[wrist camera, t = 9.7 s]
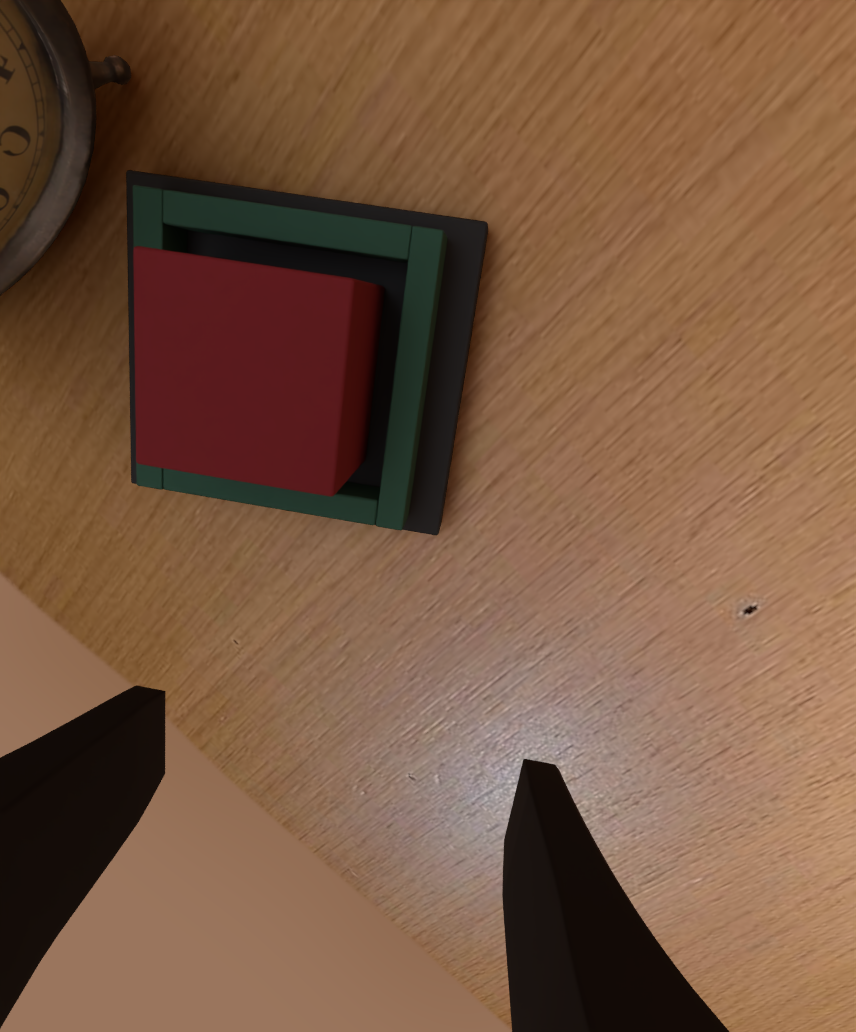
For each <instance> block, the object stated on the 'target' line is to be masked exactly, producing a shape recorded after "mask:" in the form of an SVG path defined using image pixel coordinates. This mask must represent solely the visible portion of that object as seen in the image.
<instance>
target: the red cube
mask: <svg viewBox="0 0 856 1032" xmlns="http://www.w3.org/2000/svg"><path fill="white" fill-rule="evenodd" d="M133 266H134V339H135V412H136V462H137V463H138V464H141V465H147V466H153V467H159V468H165V469H171V470H177V471H182V472H188V473H194V474H200V475H206V476H212V477H218V478H224V479H230V480H236V481H241V482H247V483H253V484H259V485H265V486H271V487H277V488H283V489H289V490H295V491H300V492H306V493H312V494H318V495H324V496H330V497H331V496H334V495H335V494H336V492H337V491H338V490H339V489H340V488H341V487H342V486H343V485H344V483H345V482H346V481H347V480H348V479H349V478H350V477H351V475H352V474H353V473H354V472H355V471H356V470H357V469H358V467H359V466H360V465H361V464H362V463H363V462H364V461H365V459H366V453H367V444H368V435H369V426H370V417H371V408H372V400H373V391H374V382H375V373H376V364H377V355H378V346H379V338H380V329H381V320H382V311H383V302H384V293H385V288H384V287H383V286H381V285H377V284H373V283H369V282H365V281H361V280H357V279H353V278H348V277H341V276H334V275H328V274H321V273H314V272H308V271H301V270H295V269H288V268H281V267H275V266H268V265H261V264H255V263H248V262H241V261H235V260H228V259H222V258H215V257H208V256H202V255H195V254H188V253H182V252H175V251H169V250H162V249H155V248H149V247H142V246H136V247H134V249H133Z"/></svg>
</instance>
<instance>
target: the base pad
mask: <svg viewBox="0 0 856 1032" xmlns="http://www.w3.org/2000/svg"><path fill="white" fill-rule="evenodd" d="M126 183H127V244H128V304H129V365H130V425H131V482H132V483H134V484H137V485H138V486H144V487H150V488H156V489H165V490H170V491H176V492H182V493H188V494H194V495H200V496H205V497H211V498H217V499H223V500H229V501H235V502H240V503H246V504H252V505H258V506H264V507H270V508H275V509H281V510H287V511H293V512H299V513H305V514H310V515H316V516H322V517H328V518H334V519H340V520H345V521H351V522H357V523H363V524H369V525H376V526H378V527H384V528H390V529H395V530H408V531H414V532H420V533H426V534H432V535H438V533H439V530H440V526H441V521H442V515H443V509H444V503H445V497H446V490H447V484H448V478H449V472H450V465H451V459H452V453H453V447H454V440H455V434H456V428H457V422H458V415H459V409H460V403H461V397H462V390H463V384H464V378H465V372H466V366H467V359H468V353H469V347H470V341H471V334H472V328H473V322H474V316H475V309H476V303H477V297H478V291H479V284H480V278H481V272H482V266H483V259H484V253H485V247H486V241H487V235H488V224H487V222H484V221H478V220H471V219H464V218H457V217H450V216H443V215H436V214H429V213H422V212H415V211H408V210H401V209H395V208H388V207H381V206H374V205H367V204H360V203H353V202H346V201H339V200H332V199H325V198H318V197H312V196H305V195H298V194H291V193H284V192H277V191H270V190H263V189H256V188H249V187H242V186H235V185H228V184H222V183H215V182H208V181H201V180H194V179H187V178H180V177H173V176H166V175H159V174H152V173H145V172H139V171H132V170H128V171H127V172H126ZM136 246H142V247H149V248H155V249H162V250H169V251H175V252H182V253H188V254H195V255H202V256H208V257H215V258H222V259H228V260H235V261H241V262H248V263H255V264H261V265H268V266H275V267H281V268H288V269H295V270H301V271H308V272H314V273H321V274H328V275H334V276H341V277H348V278H353V279H357V280H361V281H365V282H369V283H373V284H377V285H381V286H383V287H384V288H385V293H384V302H383V311H382V320H381V329H380V338H379V346H378V355H377V364H376V373H375V382H374V391H373V400H372V408H371V417H370V426H369V435H368V444H367V453H366V459H365V461H364V462H363V463H362V464H361V465H360V466H359V467H358V469H357V470H356V471H355V472H354V473H353V474H352V475H351V477H350V478H349V479H348V480H347V481H346V482H345V483H344V485H343V486H342V487H341V488H340V489H339V490H338V491H337V492H336V494H335V495H334V496H331V497H330V496H324V495H318V494H312V493H306V492H300V491H295V490H289V489H283V488H277V487H271V486H265V485H259V484H253V483H247V482H241V481H236V480H230V479H224V478H218V477H212V476H206V475H200V474H194V473H188V472H182V471H177V470H171V469H165V468H159V467H153V466H147V465H141V464H138V463H137V462H136V412H135V339H134V266H133V249H134V247H136Z"/></svg>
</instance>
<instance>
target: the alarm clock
mask: <svg viewBox="0 0 856 1032" xmlns="http://www.w3.org/2000/svg"><path fill="white" fill-rule="evenodd" d="M130 79H131V71H130V66H129V65H128V64H127V62H126V61H124V60H123V59H122V58H121V57H119V56H116V55H114V56H109V57H106V58H105V60H104V62H90V61H88V58H87V55H86V51H85V48H84V46H83V43H82V41H81V38H80V35H79V33H78V30H77V28H76V25H75V24H74V22H73V20H72V18H71V17H70V15H69V13H68V11H67V10H66V8H65V6H64V5H63V3H62V2H61V0H0V295H1V294H3V293H4V292H5V291H6V290H8V289H9V288H10V287H11V286H13V285H14V284H15V283H16V282H18V281H19V280H20V279H21V278H22V277H23V276H24V275H25V274H26V273H27V272H28V271H29V270H31V268H32V267H33V266H34V265H35V264H36V263H37V262H38V261H39V260H40V258H41V257H42V256H43V254H44V253H45V252H46V251H47V249H48V248H49V247H50V246H51V245H52V243H53V242H54V240H55V239H56V237H57V236H58V234H59V233H60V231H61V230H62V228H63V227H64V225H65V223H66V222H67V220H68V218H69V216H70V215H71V213H72V211H73V210H74V208H75V205H76V203H77V201H78V199H79V197H80V194H81V192H82V189H83V187H84V184H85V181H86V178H87V174H88V170H89V166H90V162H91V158H92V154H93V149H94V140H95V129H96V98H95V90H94V89H96V88H98V87H100V86H102V85H104V84H106V83H108V82H115V83H118V84H121V85H123V84H127V83H128V82H129V80H130Z"/></svg>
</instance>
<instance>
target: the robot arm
mask: <svg viewBox="0 0 856 1032" xmlns="http://www.w3.org/2000/svg"><path fill="white" fill-rule="evenodd" d="M164 774H165V691H162V690H157V689H151V688H146V687H141V686H134V687H132V688H130V689H128V690H126V691H124V692H122V693H121V694H119V695H117V696H115V697H113V698H112V699H109V700H108V701H106V702H104V703H102V704H100V705H99V706H97V707H95V708H93V709H91V710H90V711H88V712H86V713H84V714H82V715H81V716H79V717H77V718H75V719H74V720H71V721H70V722H68V723H66V724H64V725H62V726H60V727H59V728H57V729H55V730H53V731H51V732H49V733H47V734H46V735H44V736H42V737H40V738H38V739H36V740H35V741H33V742H31V743H29V744H27V745H25V746H23V747H21V748H19V749H17V750H15V751H13V752H11V753H9V754H7V755H5V756H3V757H1V758H0V1028H1V1026H2V1024H3V1023H4V1021H5V1019H6V1018H7V1016H8V1014H9V1013H10V1011H11V1009H12V1008H13V1006H14V1004H15V1003H16V1001H17V999H18V998H19V996H20V994H21V993H22V991H23V989H24V987H25V986H26V984H27V983H28V981H29V979H30V978H31V976H32V974H33V973H34V971H35V969H36V967H37V966H38V964H39V963H40V961H41V960H42V958H43V957H44V955H45V953H46V952H47V951H48V949H49V948H50V946H51V945H52V943H53V941H54V940H55V938H56V937H57V935H58V934H59V933H60V931H61V930H62V929H63V927H64V926H65V924H66V923H67V922H68V920H69V919H70V917H71V916H72V914H73V913H74V912H75V910H76V909H77V908H78V906H79V905H80V903H81V902H82V901H83V899H84V898H85V896H86V895H87V894H88V892H89V891H90V890H91V888H92V887H93V885H94V884H95V882H96V881H97V880H98V878H99V877H100V876H101V874H102V873H103V871H104V870H105V869H106V867H107V866H108V864H109V863H110V862H111V860H112V859H113V858H114V856H115V855H116V853H117V852H118V850H119V849H120V848H121V846H122V845H123V843H124V842H125V841H126V839H127V838H128V836H129V835H130V833H131V832H132V831H133V829H134V827H135V826H136V825H137V823H138V822H139V820H140V818H141V816H142V815H143V813H144V811H145V809H146V808H147V806H148V804H149V802H150V801H151V799H152V797H153V795H154V793H155V791H156V789H157V787H158V786H159V784H160V782H161V780H162V778H163V776H164ZM503 911H504V925H505V939H506V953H507V966H508V980H509V993H510V1007H511V1020H512V1032H729V1031H728V1030H727V1028H726V1027H725V1026H724V1025H723V1024H722V1022H721V1021H720V1020H719V1019H718V1018H717V1017H716V1015H715V1014H714V1013H713V1012H712V1011H711V1009H710V1008H709V1007H708V1006H707V1005H706V1004H705V1002H704V1001H703V1000H702V999H701V998H700V996H699V995H698V994H697V993H696V992H695V991H694V989H693V988H692V987H691V986H690V984H689V983H688V982H687V980H686V979H685V978H684V977H683V975H682V974H681V973H680V971H679V970H678V969H677V967H676V966H675V965H674V963H673V962H672V961H671V959H670V958H669V957H668V955H667V954H666V953H665V951H664V950H663V948H662V947H661V946H660V944H659V943H658V942H657V940H656V939H655V937H654V936H653V934H652V933H651V932H650V930H649V929H648V927H647V926H646V924H645V923H644V921H643V920H642V918H641V917H640V915H639V914H638V912H637V911H636V909H635V908H634V906H633V905H632V903H631V901H630V900H629V898H628V897H627V895H626V894H625V892H624V890H623V889H622V887H621V886H620V884H619V882H618V881H617V879H616V877H615V876H614V874H613V872H612V871H611V869H610V867H609V866H608V864H607V862H606V860H605V858H604V857H603V855H602V853H601V851H600V850H599V848H598V846H597V844H596V843H595V841H594V839H593V837H592V835H591V834H590V832H589V830H588V828H587V826H586V824H585V822H584V820H583V818H582V816H581V814H580V813H579V811H578V809H577V807H576V805H575V803H574V801H573V799H572V797H571V794H570V792H569V790H568V788H567V786H566V784H565V782H564V780H563V777H562V775H561V773H560V771H559V769H558V768H557V767H556V765H554V764H549V763H544V762H538V761H533V760H528V759H524V760H523V764H522V768H521V772H520V776H519V781H518V785H517V789H516V793H515V797H514V801H513V806H512V810H511V814H510V818H509V822H508V826H507V831H506V835H505V839H504V861H503Z"/></svg>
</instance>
